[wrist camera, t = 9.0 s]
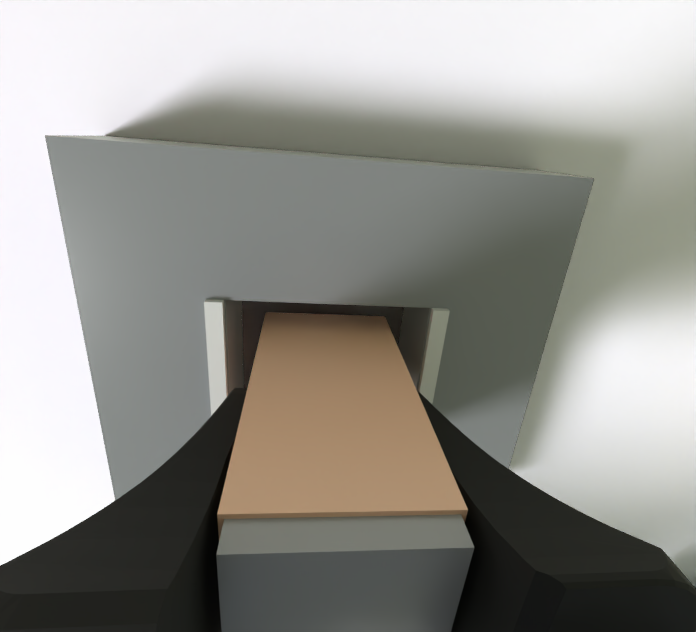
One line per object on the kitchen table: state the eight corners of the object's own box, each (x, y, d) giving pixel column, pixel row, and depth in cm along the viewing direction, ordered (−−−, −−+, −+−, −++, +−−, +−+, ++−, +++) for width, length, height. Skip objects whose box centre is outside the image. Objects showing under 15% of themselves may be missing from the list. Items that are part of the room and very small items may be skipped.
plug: (373, 413, 16) (439, 692, 8) (265, 412, 15) (220, 707, 7) (384, 316, 14) (481, 542, 6) (265, 312, 14) (208, 550, 6)
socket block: (462, 482, 20) (489, 543, 17) (152, 485, 18) (122, 553, 15) (538, 170, 14) (598, 179, 11) (102, 135, 12) (40, 135, 10)
